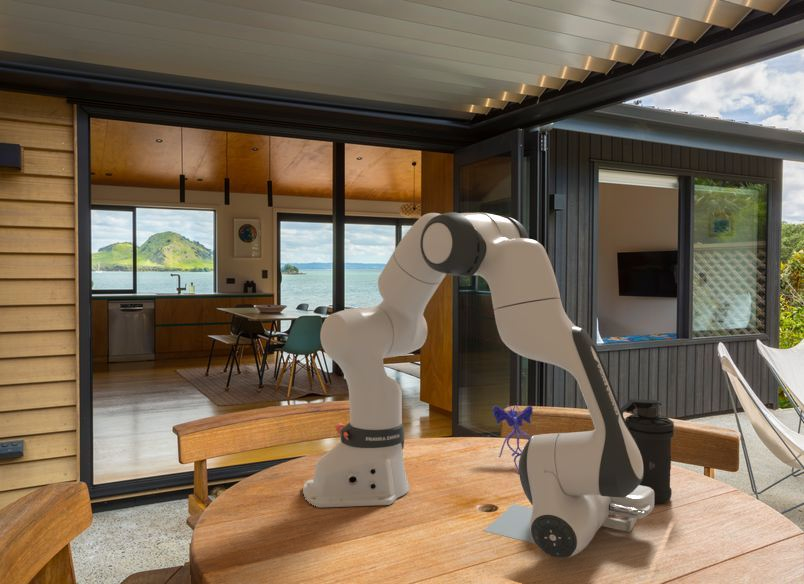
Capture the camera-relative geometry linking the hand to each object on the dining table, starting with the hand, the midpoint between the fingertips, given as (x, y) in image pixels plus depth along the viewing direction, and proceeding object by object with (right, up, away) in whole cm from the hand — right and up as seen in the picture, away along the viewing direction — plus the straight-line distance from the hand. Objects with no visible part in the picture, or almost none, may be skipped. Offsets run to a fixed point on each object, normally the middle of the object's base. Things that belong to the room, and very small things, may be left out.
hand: (603, 478), depth 115 cm
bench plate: (-14, -8, -7) cm, 18 cm away
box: (0, -8, 0) cm, 8 cm away
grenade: (+12, -7, +11) cm, 17 cm away
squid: (-10, -6, +35) cm, 37 cm away
